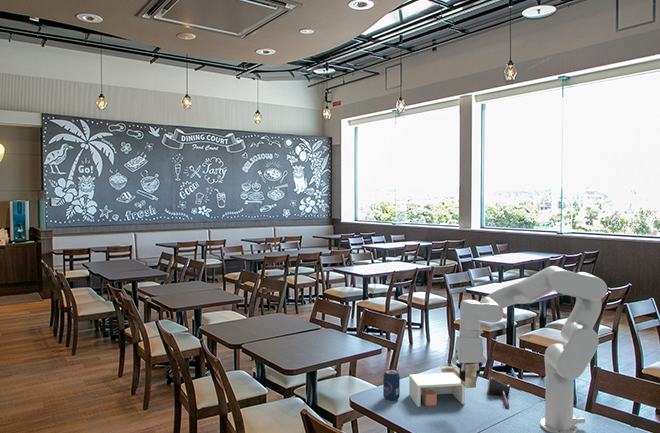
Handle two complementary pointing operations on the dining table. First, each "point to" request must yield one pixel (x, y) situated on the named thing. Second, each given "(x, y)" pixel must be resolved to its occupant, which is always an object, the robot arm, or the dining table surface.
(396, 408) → the dining table surface
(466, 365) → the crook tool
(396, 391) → the soda can
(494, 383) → the coffee pot
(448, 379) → the shelf cubby
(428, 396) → the block
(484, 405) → the dining table surface
